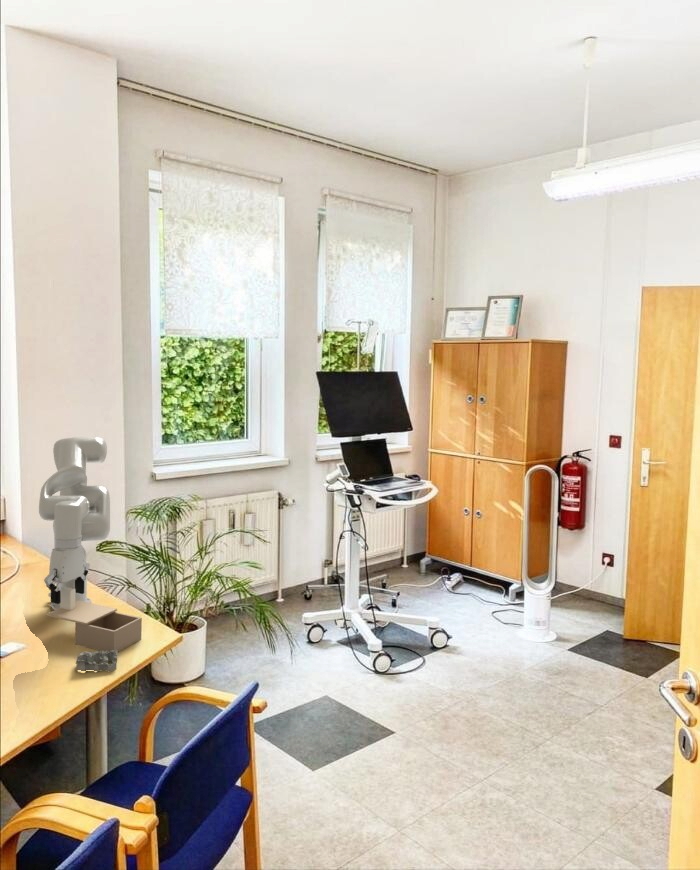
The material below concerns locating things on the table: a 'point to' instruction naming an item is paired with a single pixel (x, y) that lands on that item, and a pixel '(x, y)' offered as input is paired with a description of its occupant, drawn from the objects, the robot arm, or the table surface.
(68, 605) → the lid
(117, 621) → the carton
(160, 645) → the table surface
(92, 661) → the egg carton
